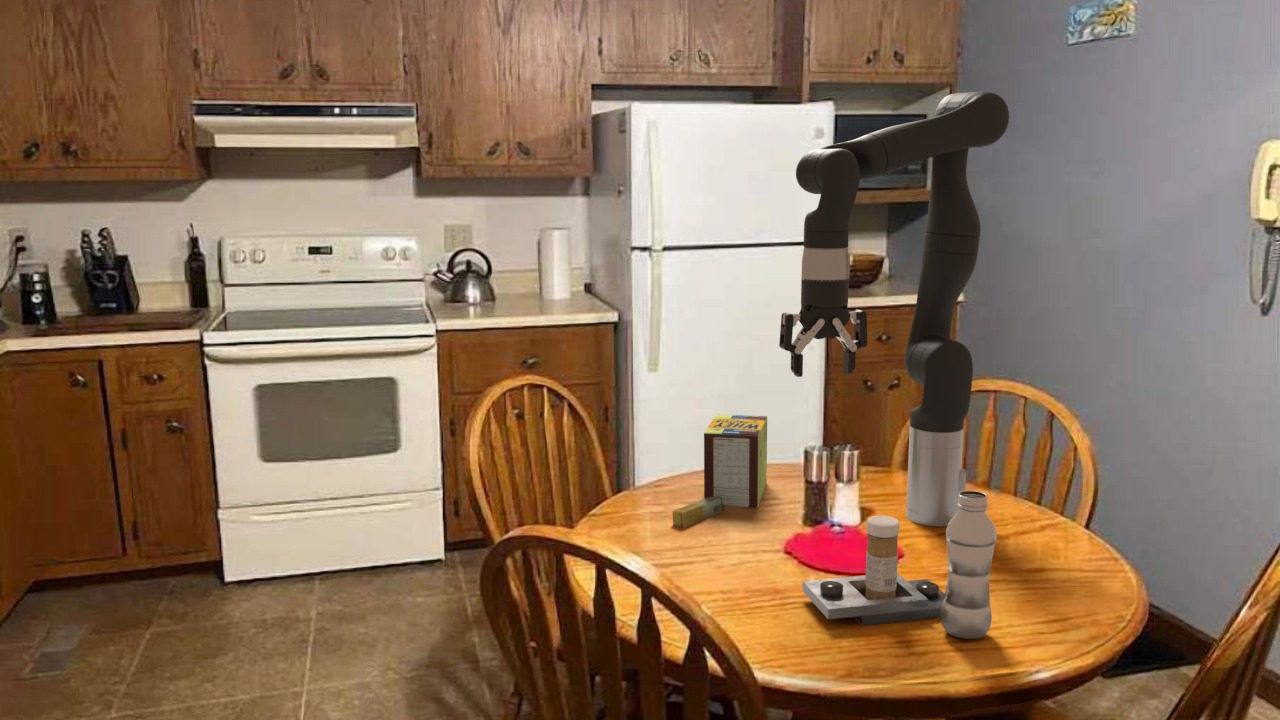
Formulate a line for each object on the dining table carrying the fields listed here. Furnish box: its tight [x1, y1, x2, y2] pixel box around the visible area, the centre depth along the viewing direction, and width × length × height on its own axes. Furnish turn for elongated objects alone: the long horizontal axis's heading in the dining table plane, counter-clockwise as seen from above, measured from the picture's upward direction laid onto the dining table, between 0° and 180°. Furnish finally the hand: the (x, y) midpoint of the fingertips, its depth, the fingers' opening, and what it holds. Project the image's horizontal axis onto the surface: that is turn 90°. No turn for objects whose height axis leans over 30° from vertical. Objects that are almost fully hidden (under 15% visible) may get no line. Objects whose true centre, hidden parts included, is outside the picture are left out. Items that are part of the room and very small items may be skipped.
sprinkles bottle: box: [865, 515, 900, 600], centre depth 144 cm, size 5×5×14 cm
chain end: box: [852, 578, 945, 627], centre depth 146 cm, size 15×10×3 cm, turn 101°
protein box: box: [703, 413, 768, 508], centre depth 193 cm, size 10×15×16 cm
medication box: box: [671, 496, 724, 529], centre depth 181 cm, size 12×3×4 cm, turn 140°
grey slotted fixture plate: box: [801, 572, 928, 620], centre depth 145 cm, size 15×10×3 cm, turn 101°
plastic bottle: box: [940, 490, 998, 640], centre depth 135 cm, size 6×7×20 cm
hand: (822, 374), depth 163 cm, fingers open, 8 cm apart
